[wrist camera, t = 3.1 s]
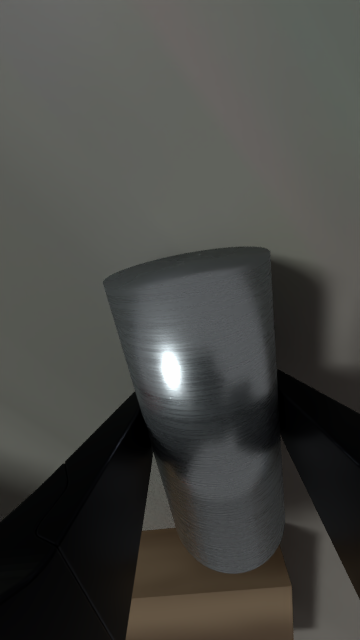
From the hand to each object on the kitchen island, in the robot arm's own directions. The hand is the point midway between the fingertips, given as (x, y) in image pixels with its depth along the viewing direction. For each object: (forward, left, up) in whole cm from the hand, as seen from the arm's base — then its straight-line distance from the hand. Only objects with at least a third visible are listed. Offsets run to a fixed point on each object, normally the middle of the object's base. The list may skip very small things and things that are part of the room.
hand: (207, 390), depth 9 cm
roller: (0, 0, -1) cm, 1 cm away
